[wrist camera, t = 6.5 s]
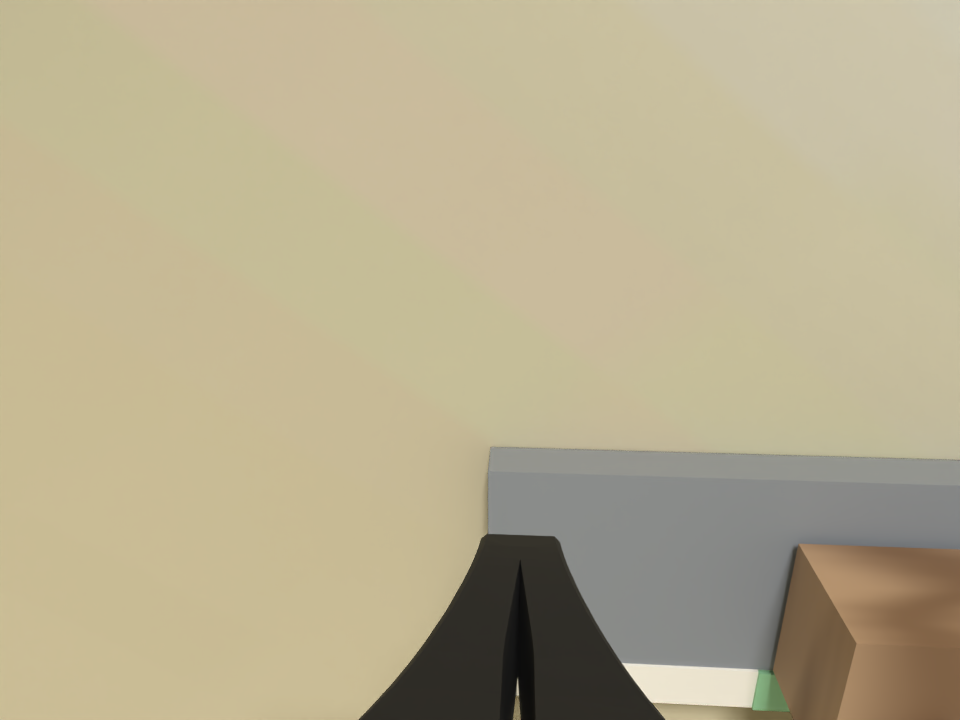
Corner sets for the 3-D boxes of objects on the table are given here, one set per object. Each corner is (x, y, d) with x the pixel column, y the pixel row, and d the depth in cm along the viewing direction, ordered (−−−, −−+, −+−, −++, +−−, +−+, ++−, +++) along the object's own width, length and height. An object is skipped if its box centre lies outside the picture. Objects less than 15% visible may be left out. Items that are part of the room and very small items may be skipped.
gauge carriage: (972, 549, 21) (1080, 665, 16) (919, 715, 23) (1003, 851, 19) (798, 543, 21) (863, 655, 17) (765, 707, 23) (815, 840, 19)
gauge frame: (1147, 465, 21) (1393, 618, 15) (1056, 688, 24) (1228, 885, 18) (490, 446, 22) (476, 582, 16) (490, 661, 26) (478, 838, 20)
